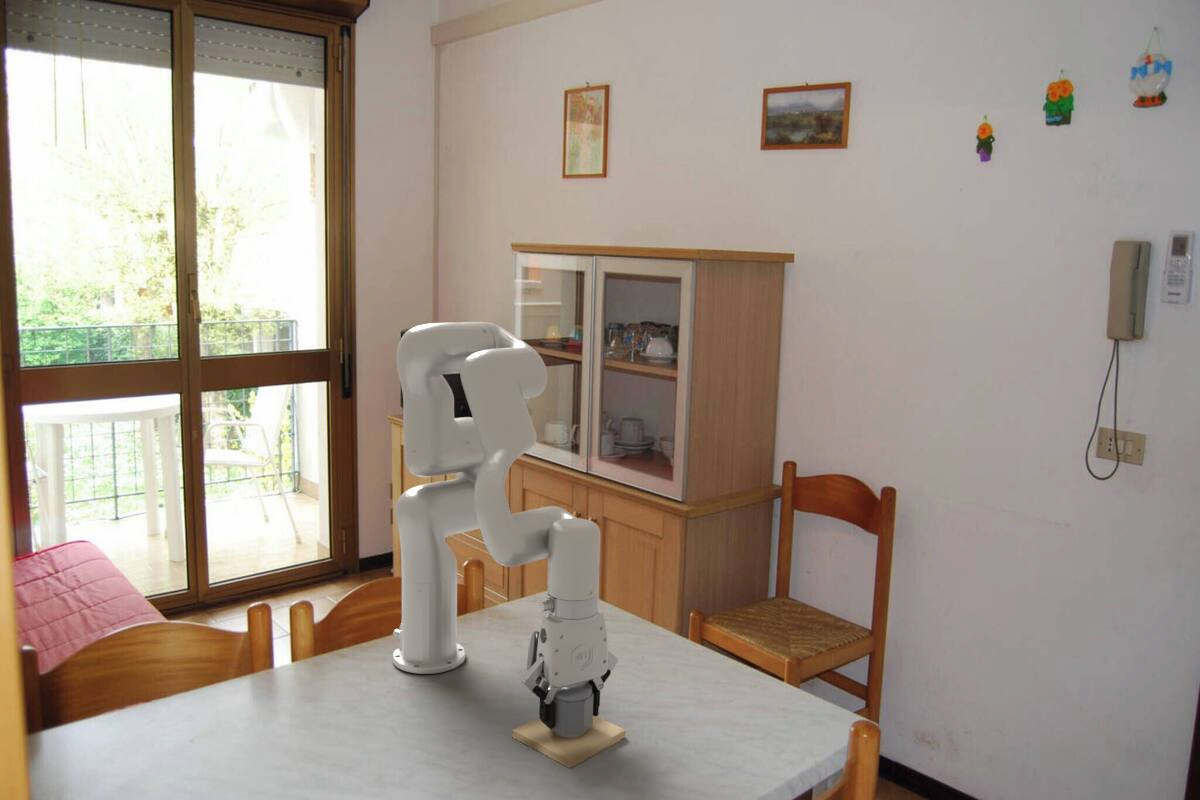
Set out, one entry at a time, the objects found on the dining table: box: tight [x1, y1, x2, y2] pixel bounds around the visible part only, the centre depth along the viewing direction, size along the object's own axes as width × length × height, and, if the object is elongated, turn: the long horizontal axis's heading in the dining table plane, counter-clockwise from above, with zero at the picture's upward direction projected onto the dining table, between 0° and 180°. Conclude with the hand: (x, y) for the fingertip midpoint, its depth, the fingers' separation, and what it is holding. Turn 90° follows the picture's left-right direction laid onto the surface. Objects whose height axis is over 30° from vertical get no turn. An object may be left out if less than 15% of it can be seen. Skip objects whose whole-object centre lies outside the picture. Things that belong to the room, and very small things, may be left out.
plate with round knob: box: [511, 716, 627, 769], centre depth 137 cm, size 12×12×7 cm
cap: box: [550, 681, 594, 735], centre depth 137 cm, size 6×6×6 cm
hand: (569, 717), depth 137 cm, fingers closed on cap, 6 cm apart
